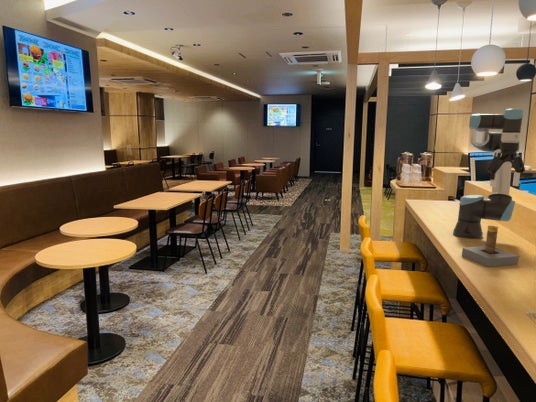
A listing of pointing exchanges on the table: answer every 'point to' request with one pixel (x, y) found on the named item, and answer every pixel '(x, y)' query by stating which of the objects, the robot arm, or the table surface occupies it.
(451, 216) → the table surface
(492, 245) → the yellow capped peg
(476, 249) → the socket plate
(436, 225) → the table surface
